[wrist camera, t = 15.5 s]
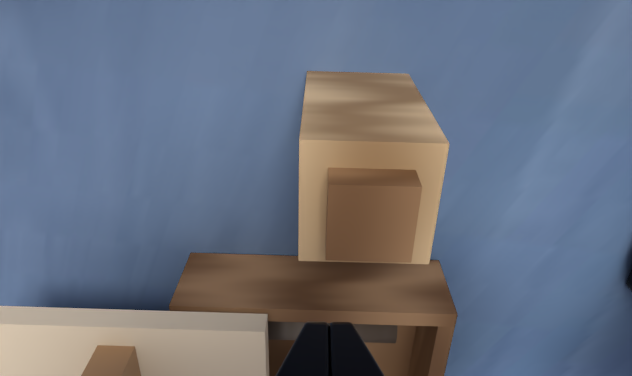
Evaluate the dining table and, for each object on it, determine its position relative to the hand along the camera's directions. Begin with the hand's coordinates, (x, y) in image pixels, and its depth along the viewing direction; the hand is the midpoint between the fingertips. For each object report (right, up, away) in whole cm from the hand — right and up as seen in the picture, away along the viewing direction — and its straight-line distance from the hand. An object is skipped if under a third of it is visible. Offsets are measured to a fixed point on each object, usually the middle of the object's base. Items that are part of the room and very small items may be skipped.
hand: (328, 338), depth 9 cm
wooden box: (0, -5, +17) cm, 18 cm away
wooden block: (+1, +6, +11) cm, 13 cm away
